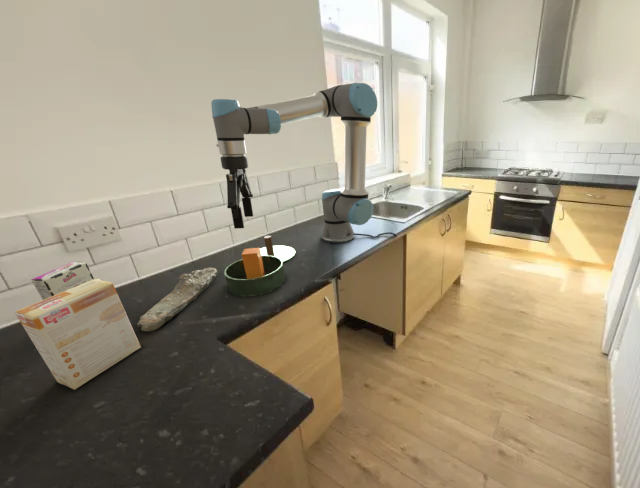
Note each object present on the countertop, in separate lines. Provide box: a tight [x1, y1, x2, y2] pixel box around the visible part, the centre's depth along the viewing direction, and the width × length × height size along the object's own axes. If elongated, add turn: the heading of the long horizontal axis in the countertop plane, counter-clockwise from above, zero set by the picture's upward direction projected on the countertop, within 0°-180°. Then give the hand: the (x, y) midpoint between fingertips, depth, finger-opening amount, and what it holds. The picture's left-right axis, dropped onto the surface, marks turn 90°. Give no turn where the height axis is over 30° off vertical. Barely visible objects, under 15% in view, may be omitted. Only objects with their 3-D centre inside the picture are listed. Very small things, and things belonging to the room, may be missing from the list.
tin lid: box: [259, 235, 297, 264], centre depth 131 cm, size 20×20×9 cm
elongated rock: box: [136, 267, 218, 332], centre depth 103 cm, size 35×5×10 cm
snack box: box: [241, 247, 266, 279], centre depth 110 cm, size 5×5×12 cm
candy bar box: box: [30, 261, 95, 300], centre depth 92 cm, size 11×5×16 cm, turn 170°
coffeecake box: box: [14, 278, 142, 391], centre depth 73 cm, size 15×7×20 cm, turn 159°
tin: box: [223, 255, 286, 297], centre depth 112 cm, size 19×19×6 cm
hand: (244, 222), depth 106 cm, fingers open, 13 cm apart
